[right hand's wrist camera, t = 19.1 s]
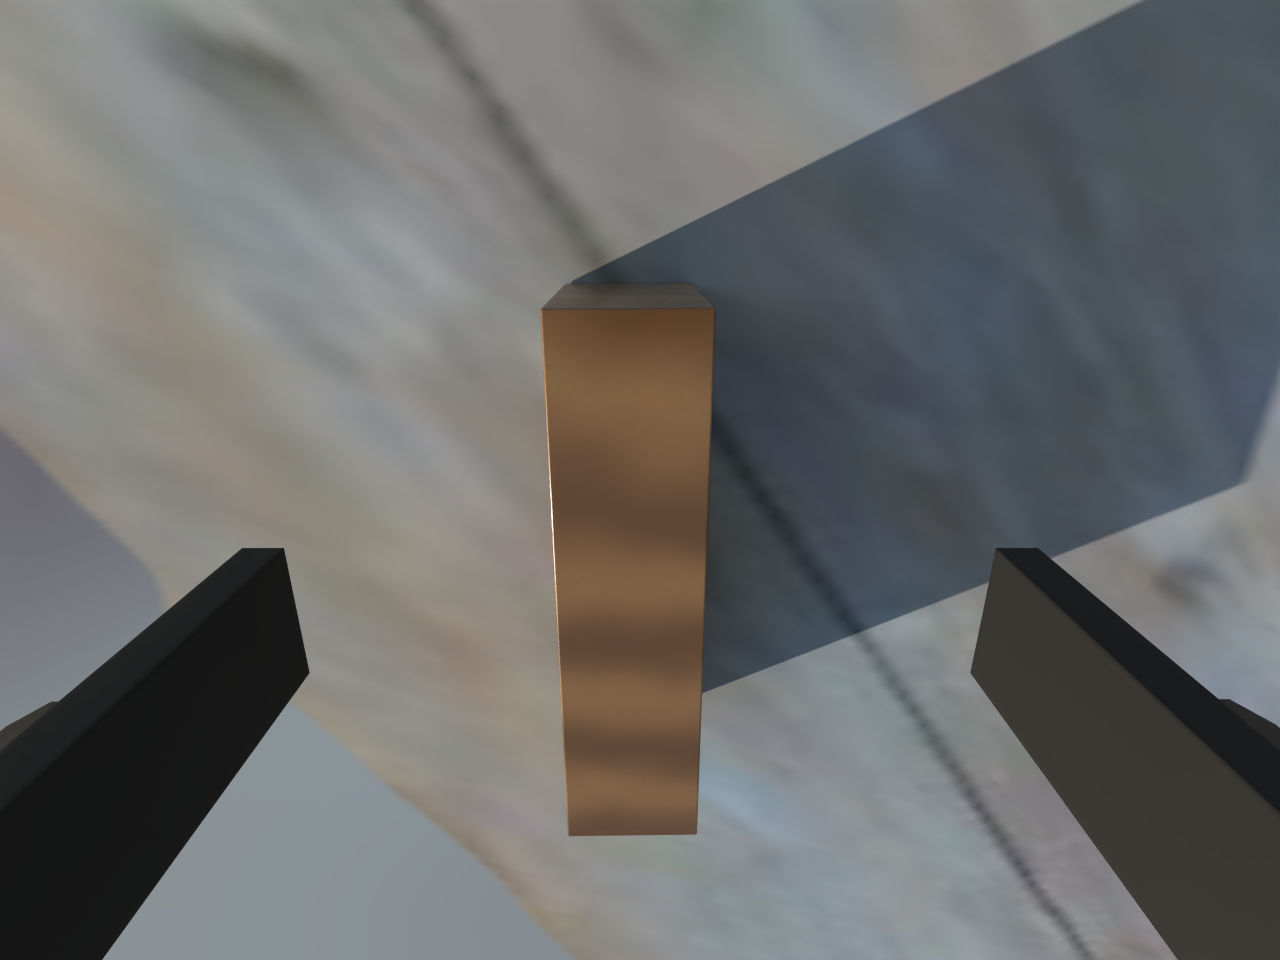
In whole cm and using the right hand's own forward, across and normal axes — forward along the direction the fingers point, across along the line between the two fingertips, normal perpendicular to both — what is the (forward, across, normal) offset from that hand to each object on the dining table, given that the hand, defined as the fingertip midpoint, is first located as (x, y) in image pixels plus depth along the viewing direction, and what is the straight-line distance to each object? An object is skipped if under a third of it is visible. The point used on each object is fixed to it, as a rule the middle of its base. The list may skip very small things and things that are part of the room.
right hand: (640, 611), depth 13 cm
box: (+23, 0, -8) cm, 24 cm away
